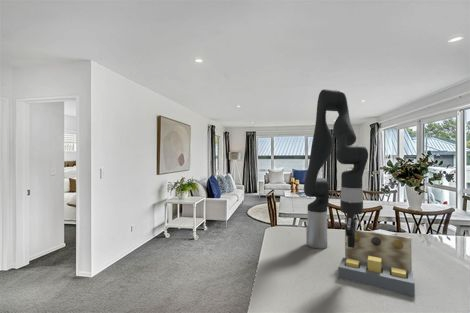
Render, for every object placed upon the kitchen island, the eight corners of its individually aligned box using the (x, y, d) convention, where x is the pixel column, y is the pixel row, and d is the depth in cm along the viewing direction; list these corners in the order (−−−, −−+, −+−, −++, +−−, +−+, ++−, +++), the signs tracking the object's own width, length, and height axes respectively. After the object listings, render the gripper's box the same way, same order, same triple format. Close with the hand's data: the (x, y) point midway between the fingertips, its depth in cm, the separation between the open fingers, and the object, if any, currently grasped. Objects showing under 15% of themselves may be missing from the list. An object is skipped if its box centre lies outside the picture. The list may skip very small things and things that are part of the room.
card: (345, 263, 99) (344, 229, 100) (346, 260, 103) (346, 226, 103) (411, 277, 87) (411, 238, 88) (411, 273, 91) (410, 235, 91)
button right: (391, 286, 81) (391, 271, 81) (391, 281, 84) (391, 267, 85) (406, 290, 79) (406, 274, 79) (405, 284, 82) (405, 269, 82)
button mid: (367, 274, 85) (367, 259, 85) (368, 269, 88) (368, 255, 88) (381, 277, 83) (380, 262, 83) (381, 272, 86) (381, 258, 86)
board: (338, 278, 87) (338, 266, 87) (343, 267, 96) (343, 257, 96) (414, 296, 75) (414, 283, 75) (412, 282, 84) (412, 271, 84)
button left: (345, 275, 89) (345, 262, 89) (347, 271, 92) (347, 258, 92) (358, 278, 87) (358, 264, 87) (359, 274, 90) (359, 260, 90)
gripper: (343, 196, 97) (343, 239, 97) (337, 201, 86) (336, 250, 86) (365, 198, 93) (364, 243, 93) (360, 203, 82) (360, 255, 82)
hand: (351, 246), depth 90 cm, fingers closed
